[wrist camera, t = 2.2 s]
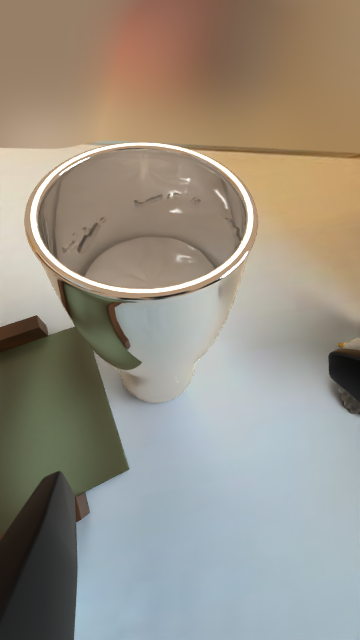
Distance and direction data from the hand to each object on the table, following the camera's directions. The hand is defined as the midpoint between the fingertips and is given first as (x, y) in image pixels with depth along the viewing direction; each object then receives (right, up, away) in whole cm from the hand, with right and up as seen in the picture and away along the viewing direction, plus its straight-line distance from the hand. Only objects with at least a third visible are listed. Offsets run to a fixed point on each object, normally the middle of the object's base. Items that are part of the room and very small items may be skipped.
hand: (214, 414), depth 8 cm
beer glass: (-3, -1, +13) cm, 13 cm away
